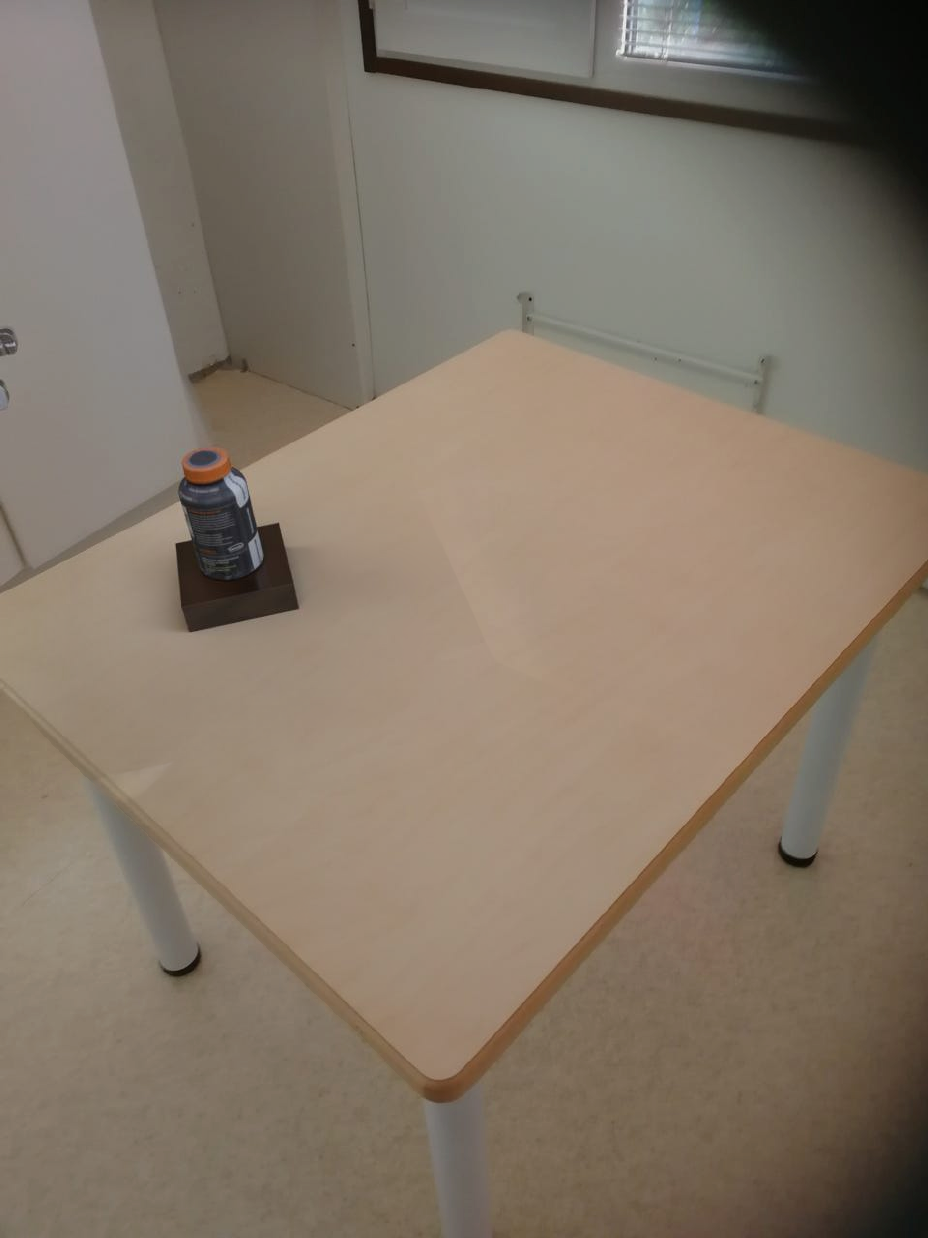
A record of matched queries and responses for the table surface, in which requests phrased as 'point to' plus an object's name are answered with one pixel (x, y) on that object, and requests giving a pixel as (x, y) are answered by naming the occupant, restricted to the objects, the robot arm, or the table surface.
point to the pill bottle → (219, 515)
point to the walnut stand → (236, 586)
